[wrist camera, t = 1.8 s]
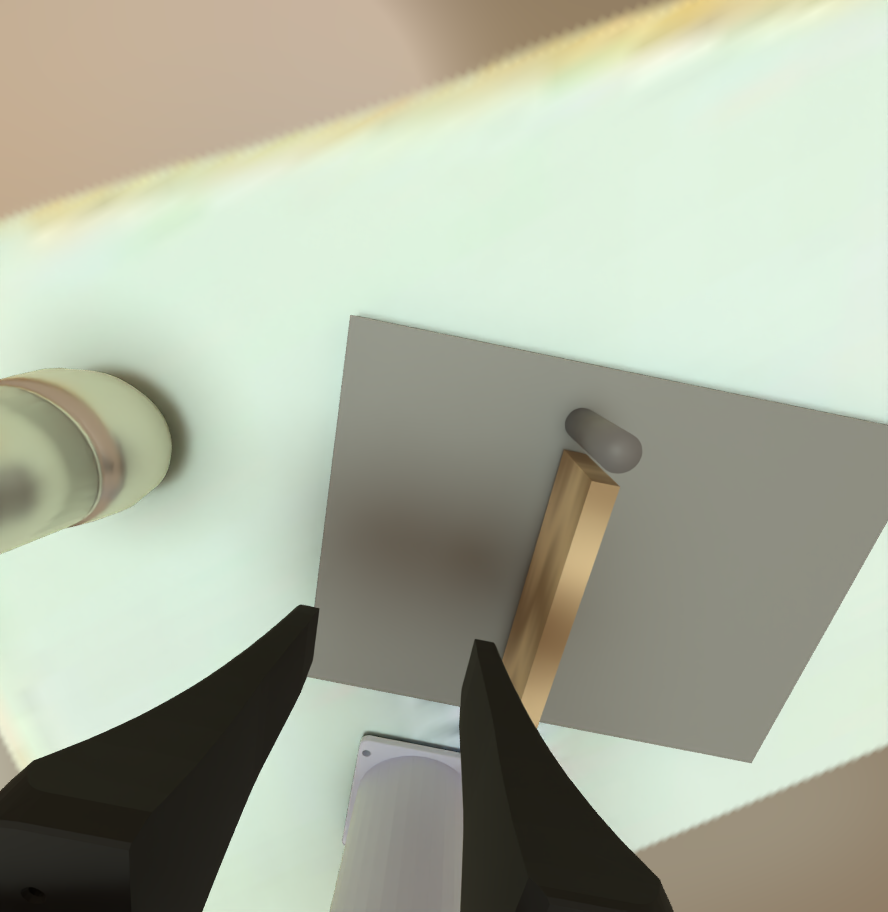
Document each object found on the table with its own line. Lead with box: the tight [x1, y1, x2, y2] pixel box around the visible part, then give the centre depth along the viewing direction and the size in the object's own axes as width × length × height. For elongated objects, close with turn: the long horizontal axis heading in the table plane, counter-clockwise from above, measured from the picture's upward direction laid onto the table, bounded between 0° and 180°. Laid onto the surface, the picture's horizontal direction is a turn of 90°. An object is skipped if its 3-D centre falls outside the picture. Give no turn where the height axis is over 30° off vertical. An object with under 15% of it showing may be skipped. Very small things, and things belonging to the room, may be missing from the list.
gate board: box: [307, 315, 888, 763], centre depth 18 cm, size 19×25×6 cm
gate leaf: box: [502, 450, 620, 729], centre depth 18 cm, size 13×1×4 cm, turn 169°
